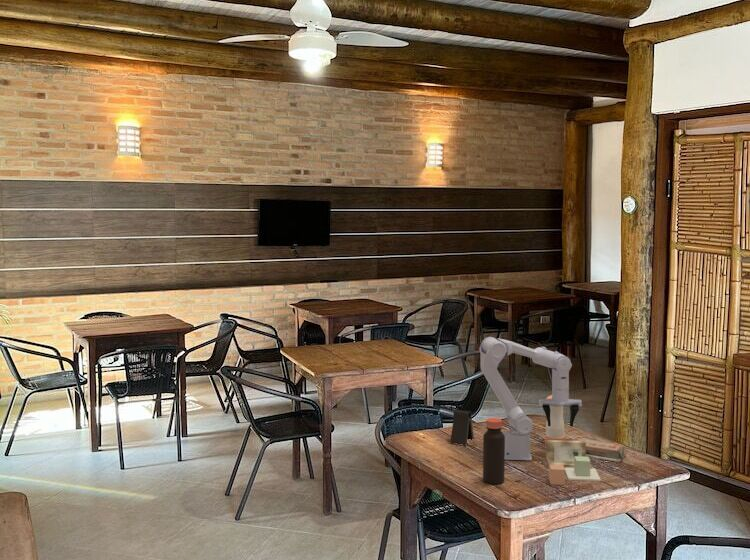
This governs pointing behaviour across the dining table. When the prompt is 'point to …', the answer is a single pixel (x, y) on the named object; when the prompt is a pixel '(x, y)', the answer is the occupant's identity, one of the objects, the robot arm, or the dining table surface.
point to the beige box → (550, 443)
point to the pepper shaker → (555, 424)
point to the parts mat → (572, 476)
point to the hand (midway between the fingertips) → (560, 425)
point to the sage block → (582, 466)
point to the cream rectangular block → (566, 452)
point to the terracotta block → (557, 474)
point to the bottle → (493, 452)
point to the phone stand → (462, 427)
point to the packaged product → (604, 450)
